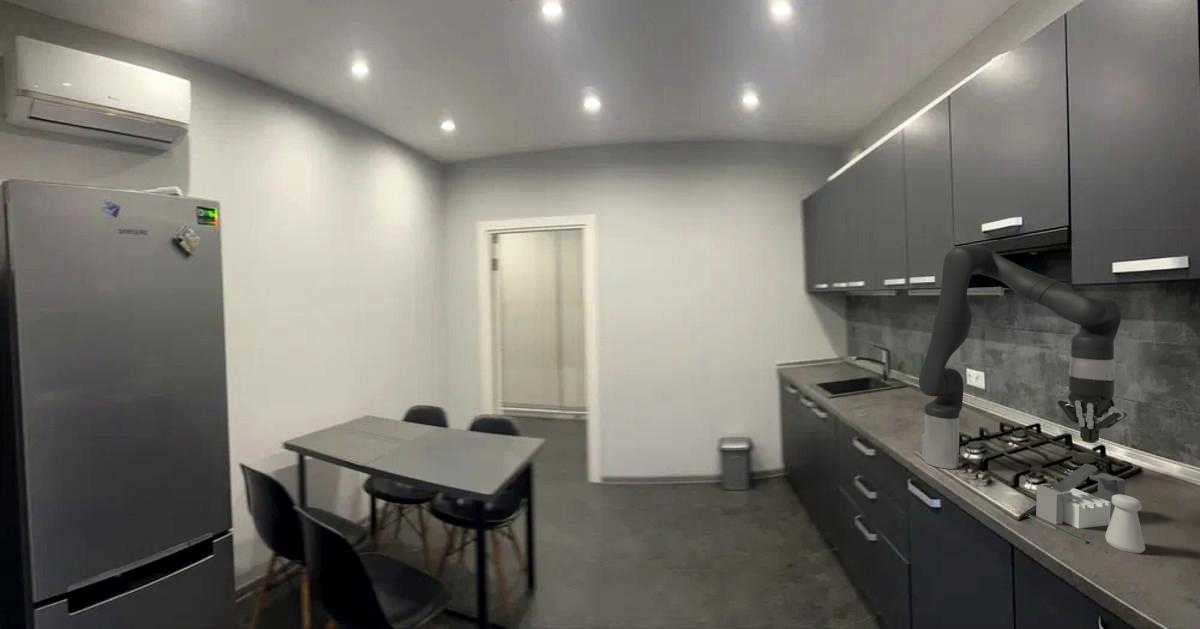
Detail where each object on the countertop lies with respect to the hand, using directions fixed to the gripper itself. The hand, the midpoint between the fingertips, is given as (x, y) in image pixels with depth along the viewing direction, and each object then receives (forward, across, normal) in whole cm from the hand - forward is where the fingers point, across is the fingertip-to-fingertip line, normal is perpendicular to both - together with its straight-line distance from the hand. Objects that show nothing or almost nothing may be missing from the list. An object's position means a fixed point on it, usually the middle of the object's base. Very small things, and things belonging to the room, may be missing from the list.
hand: (1089, 441), depth 108 cm
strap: (+10, 0, -4) cm, 11 cm away
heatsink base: (+21, 0, -2) cm, 21 cm away
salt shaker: (+21, +12, -8) cm, 25 cm away
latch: (+20, 0, +6) cm, 20 cm away
